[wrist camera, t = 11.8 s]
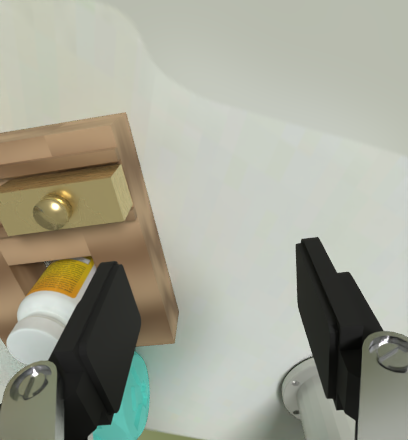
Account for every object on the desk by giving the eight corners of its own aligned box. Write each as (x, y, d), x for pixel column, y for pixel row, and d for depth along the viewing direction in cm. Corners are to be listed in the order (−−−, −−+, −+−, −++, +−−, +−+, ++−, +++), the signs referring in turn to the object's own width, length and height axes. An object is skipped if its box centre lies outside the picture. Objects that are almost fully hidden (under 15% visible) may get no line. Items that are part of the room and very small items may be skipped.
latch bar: (132, 203, 23) (120, 229, 20) (27, 218, 24) (-1, 244, 21) (120, 163, 22) (105, 184, 19) (9, 180, 23) (-24, 202, 19)
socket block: (178, 311, 34) (170, 370, 28) (33, 325, 35) (-4, 383, 29) (125, 112, 24) (96, 136, 18) (-70, 144, 26) (-155, 176, 20)
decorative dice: (134, 336, 36) (115, 409, 29) (154, 382, 40) (141, 456, 33) (66, 345, 37) (31, 417, 30) (91, 389, 41) (66, 462, 34)
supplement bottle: (123, 273, 32) (90, 359, 23) (83, 296, 33) (38, 384, 25) (84, 233, 29) (32, 311, 21) (43, 259, 31) (-21, 341, 23)
